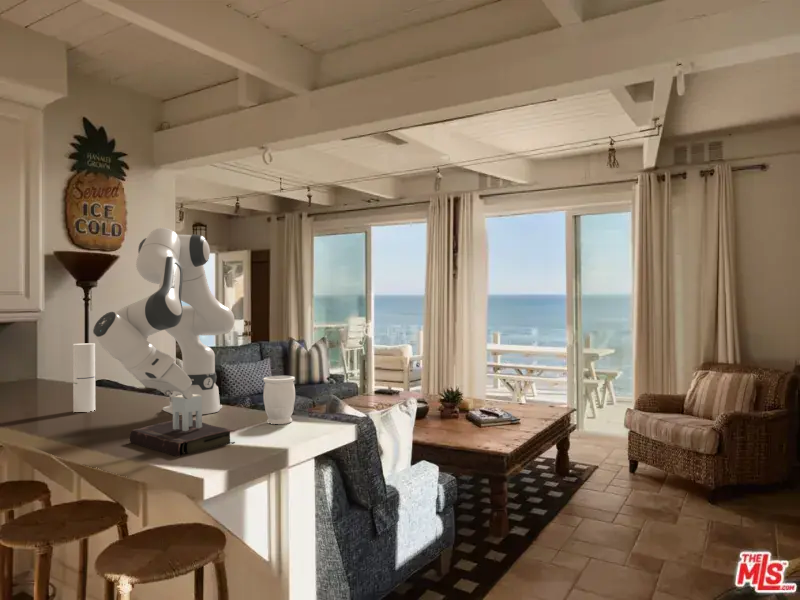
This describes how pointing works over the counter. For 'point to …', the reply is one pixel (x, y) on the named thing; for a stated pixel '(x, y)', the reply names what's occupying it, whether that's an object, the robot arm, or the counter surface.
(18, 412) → the counter surface
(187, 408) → the stool
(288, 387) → the jar
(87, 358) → the miniature refrigerator
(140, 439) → the diary
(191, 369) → the robot arm
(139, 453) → the counter surface
